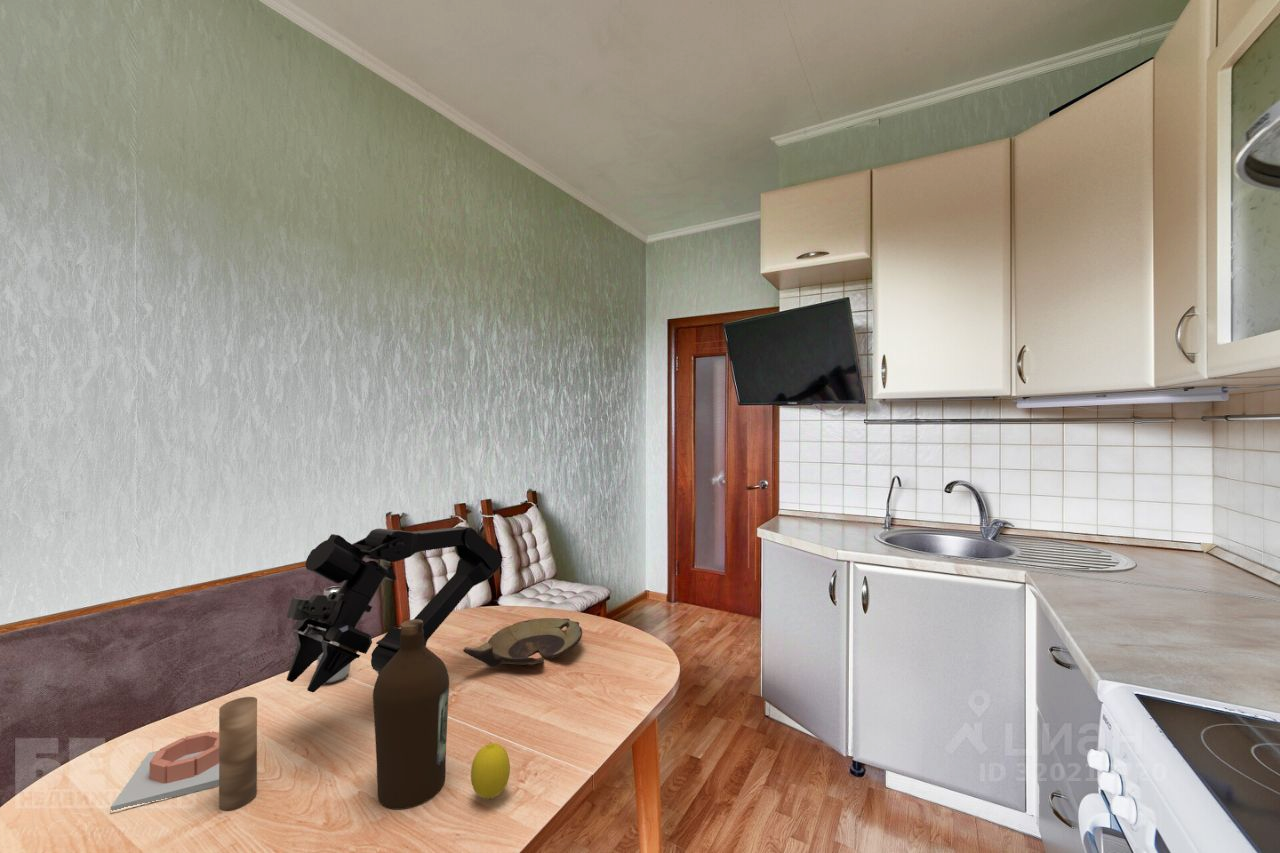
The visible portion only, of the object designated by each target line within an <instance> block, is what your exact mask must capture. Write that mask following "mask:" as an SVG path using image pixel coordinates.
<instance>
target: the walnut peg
mask: <svg viewBox="0 0 1280 853" xmlns="http://www.w3.org/2000/svg"><path fill="white" fill-rule="evenodd" d="M218 712H219V713H218V714H219V715H218V720H219V721H218V727H219V730H218V733H219V786H218V809H219V810H221V811H224V812H228V811H235V810H237V809H238V810H239V809H240V808H243V807H245V806H247V805H248V804H250V803H251V802H252V801H254V800H255V798H256V797H257V794H258V698H257V697H254V696H242V697H239V698H235V699H232V700H230V701H228V702H226V703H224V704H222V705H221V706H220V707H219V708H218Z"/></svg>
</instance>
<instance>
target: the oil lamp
mask: <svg viewBox="0 0 1280 853" xmlns="http://www.w3.org/2000/svg"><path fill="white" fill-rule="evenodd" d="M565 627H566V628H565ZM563 628H565V629H564V630H563ZM582 637H583V629H582V627H581V626H580V622H579V621H573V620H570V619H569V618H557V617H555V618H554V617H551V618H550V617H543V618H533V619H528V620H521V621H518V622H515V623H512V624H511V625H507V626H505V627H503V628H502V629H500V630H498V631H496V632H495V633H494V634H492V636H490V638H489V639H488V641H487V642H483V644H481V645H480V646H478V647H468V646H465V647H464V648H463V650H462V651H463V653H465V654H466V655H468V656H470V657H473V659H476V660H478V661H479V662H482V663H483V664H485V665H486V666H489V667H493V668H494V667H498V666H500V665H504V664H505V665H507V664H509V665H533V664H539V663H542V662H544V661H545V659H547V660H549V659H553V658H556V657H560V656H562V655H564V654H565V653H568V652H570V651H571V650H572V649H573V648H574V647H575V646H577V644H578V643H579V642H580V641H581V638H582ZM536 652H539V654H540V655H541V657H530V656H532V655H533V654H535V653H536Z"/></svg>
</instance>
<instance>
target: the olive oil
mask: <svg viewBox="0 0 1280 853" xmlns="http://www.w3.org/2000/svg"><path fill="white" fill-rule="evenodd" d="M400 629H401V632H400V649H399V651H398V652H397V653H396V654H395V655H394V656H393V658H392V659H391V660H390V661H389V662H388V663H387V664H386V665H385V667H384V668H383V669H382V670H381V672H380V673H379V675H377V678H376V681H375V682H374V686H373V690H372V704H373V719H374V720H373V722H374V736H375V737H374V740H375V756H376V757H375V758H376V781H377V782H376V783H377V785H376V788H377V790H376V791H377V799H378V802H379V803H380V804H381V806H383V807H386V808H388V809H392V810H402V809H409V808H413V807H416V806H419V805H422V804H423V803H426V802H427V801H429V800H430V799H433V797H435V796H436V795H437V794H438V793H439V792H440V791H441V790H442V789H443V786H444V784H445V782H446V767H447V766H446V757H447V738H448V737H447V736H448V734H447V733H448V715H449V714H448V713H449V696H450V695H449V694H450V676H449V672H448V669H447V667H446V664H445V662H444V661H443V660H442V659H441V658H440V657H439V656H438V655H437V654H436V653H434V652H433V651H432V650H431V649H430V648H428V647H427V645H426V646H425V645H424V629H423V621H422V620H419V619H414V618H413V619H408V620H405V621H403V622H402V623H400Z"/></svg>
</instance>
